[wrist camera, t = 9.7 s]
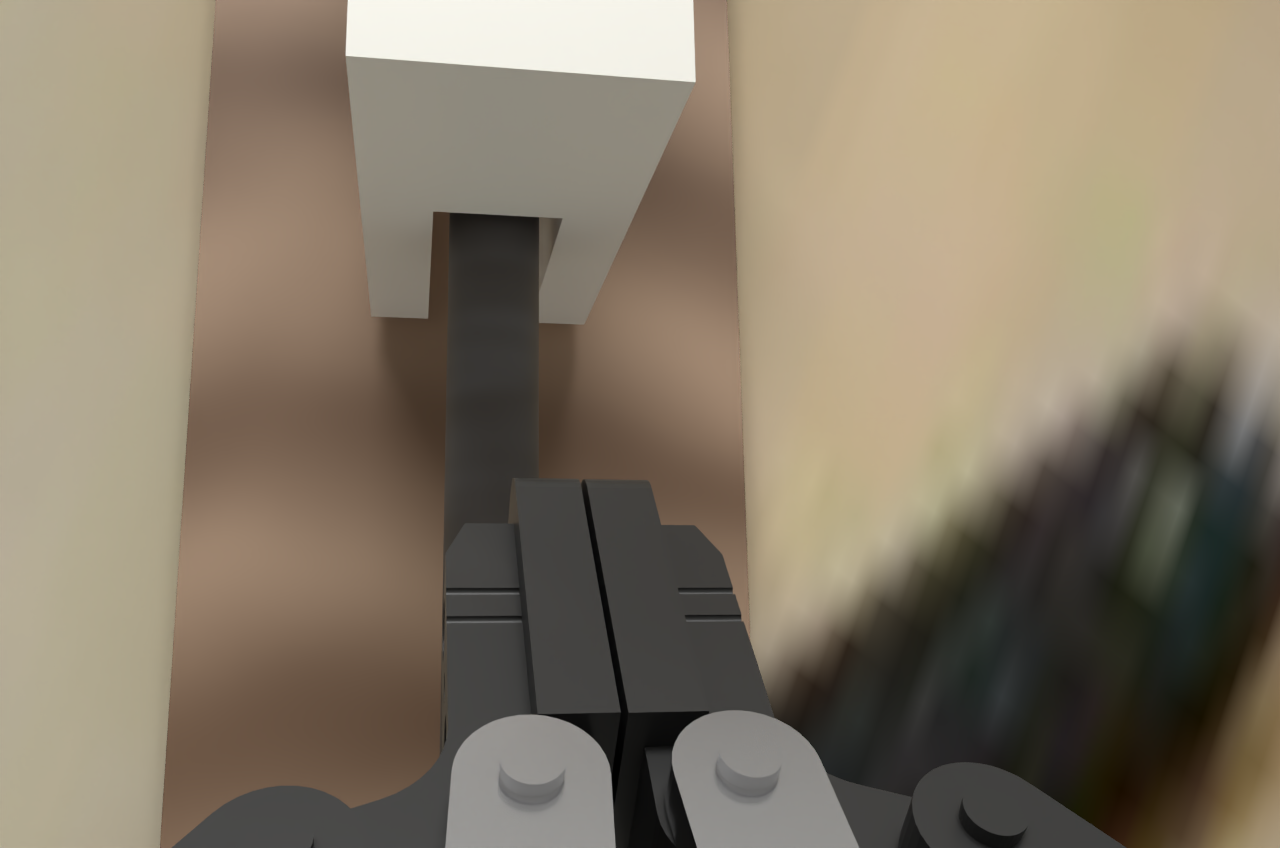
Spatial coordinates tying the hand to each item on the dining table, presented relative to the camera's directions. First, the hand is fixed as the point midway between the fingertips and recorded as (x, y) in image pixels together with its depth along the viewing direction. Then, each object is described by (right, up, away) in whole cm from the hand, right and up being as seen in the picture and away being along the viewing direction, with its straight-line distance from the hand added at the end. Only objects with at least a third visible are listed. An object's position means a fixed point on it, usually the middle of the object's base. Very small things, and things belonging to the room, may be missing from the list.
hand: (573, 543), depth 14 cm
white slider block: (-3, +6, +13) cm, 15 cm away
